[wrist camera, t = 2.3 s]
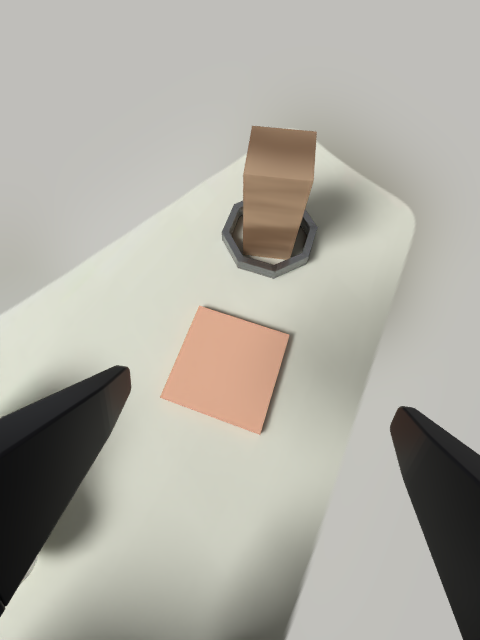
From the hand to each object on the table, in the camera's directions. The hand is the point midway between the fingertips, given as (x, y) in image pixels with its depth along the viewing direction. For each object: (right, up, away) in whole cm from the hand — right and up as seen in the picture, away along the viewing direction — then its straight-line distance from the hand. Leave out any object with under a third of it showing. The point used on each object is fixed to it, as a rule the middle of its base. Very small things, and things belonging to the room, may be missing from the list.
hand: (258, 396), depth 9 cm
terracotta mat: (-2, -1, +13) cm, 13 cm away
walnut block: (+2, +10, +17) cm, 20 cm away
